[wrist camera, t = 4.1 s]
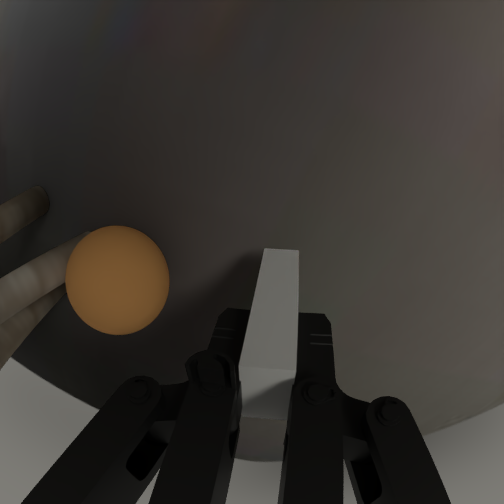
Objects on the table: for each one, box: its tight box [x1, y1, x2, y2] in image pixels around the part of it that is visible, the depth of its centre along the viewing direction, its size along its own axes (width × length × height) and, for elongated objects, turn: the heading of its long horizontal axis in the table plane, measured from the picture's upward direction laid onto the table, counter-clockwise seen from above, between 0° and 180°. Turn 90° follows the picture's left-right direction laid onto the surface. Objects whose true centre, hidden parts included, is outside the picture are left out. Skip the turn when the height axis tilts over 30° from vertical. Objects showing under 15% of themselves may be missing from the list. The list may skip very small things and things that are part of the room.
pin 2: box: [0, 283, 67, 369], centre depth 15 cm, size 2×2×9 cm
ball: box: [65, 225, 170, 335], centre depth 14 cm, size 6×6×6 cm
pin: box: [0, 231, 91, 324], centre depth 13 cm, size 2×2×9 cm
